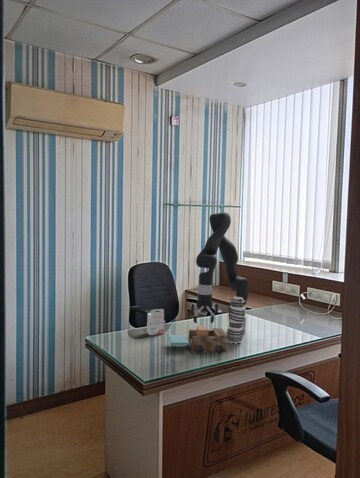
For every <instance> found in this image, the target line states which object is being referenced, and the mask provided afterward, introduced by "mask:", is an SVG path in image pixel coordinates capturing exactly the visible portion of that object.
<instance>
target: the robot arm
mask: <svg viewBox="0 0 360 478" xmlns="http://www.w3.org/2000/svg"><path fill="white" fill-rule="evenodd" d="M231 223H232V219H231V215H230V214H229V212H225V211H223V212H222V211H221V212H217V213H212V214H210V215H209V225H210V227H211V229H212V234H211V235H210V236H209V237H208V238H207V240H206V242H205V245H204V247H203V248H202V250H201V251H200V252H199V254H198V255H197V256H196V259H195V263H196V266H197V267H199V268H202V269H208V270H207V271H203V272H200V273H199V275H198V286H197V300H196V301H197V302H196V303H195V302H191V303H190V312H189V314H190V315H191V316H193V322H194V323H195V324H197V322H198V321H197V320H198V315H199V314H200V313H204V312H205V313H208V312H209V313H210V323H211V324H213V323H214V321H215V316H218V312H219V306H218V305H219V304H218V303H217V302H214V303H212V301H213V278H214V277H213V276H214V273H215V269H216V267H217V262H218V259H217V257H216V254H217V252H218V249H219V252H220V256H221V259H222V261H223V264H224V268H225V272H226V275H227V280H228V285H229V288H230V289H231V290H232V291H233V292H236V293H235V294H236V295H235V297H241V298H243V300H244V301H245V302H244V309H243V310H244V311H245V312H244V314H245V315H244V316H243V317H244V319H243V320H244V322H243V325H242V326H243V329H242V330H243V332H245V333H246V328H247V327H246V326H247V316H246V310H247V301H248V299H249V291H250V281H249V280H248V279H247V278H246V277H243V276H242V277H241V276H240V275H239V274H238V270H237V264H238V260H239V255H238V252H237V249H236V246H235V245H234V243H233V242H232V241H231V240H230V239H229V238H227V236H225V235H226V234H227V232H228V230H229V228H230V227H231ZM232 298H233V297H231V298H230V299H232ZM196 307H197V308H196ZM195 308H196V309H195ZM212 308H214V312H213V311H212ZM194 310H195V311H194ZM243 332H242V333H243ZM243 334H244V333H243Z"/></svg>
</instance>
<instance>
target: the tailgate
mask: <svg viewBox="0 0 360 478" xmlns="http://www.w3.org/2000/svg"><path fill="white" fill-rule="evenodd" d="M168 339H169V343H170V345H171V346H188V347H189V346H190V343H189V337H188V336H187V335H186V334H168Z"/></svg>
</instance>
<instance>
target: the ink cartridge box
mask: <svg viewBox="0 0 360 478" xmlns="http://www.w3.org/2000/svg"><path fill="white" fill-rule="evenodd" d="M146 318H147V319H146V321H147V322H146V333H147V334H148V335H149V336H155V335H162V334H163V335H164V323H165V309H163V308H158V309H157V308H156V309H151V310H150V312H148V313H147V317H146Z"/></svg>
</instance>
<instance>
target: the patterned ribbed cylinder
mask: <svg viewBox="0 0 360 478" xmlns="http://www.w3.org/2000/svg"><path fill="white" fill-rule="evenodd" d="M231 298H232V299H231ZM231 298H230V300H229V301H230V305H229V306H228V316H227V317H228V319H227V320H228V328H227V334H226V335H227V343H229V342H230V343H229V344H232V343H235V344H234V345H238V344H237V343H241V344H242V343H243V334H244V333H242V332H243V330H242V329H243V326H242V325H243V322H244V320H243V319H244V317H243V316H244V315H245V316H246V312H245V311H244V310H243V309H244V302H245V301H244V300H243V298H241V297H236V296H232V297H231ZM244 312H245V314H244Z"/></svg>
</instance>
